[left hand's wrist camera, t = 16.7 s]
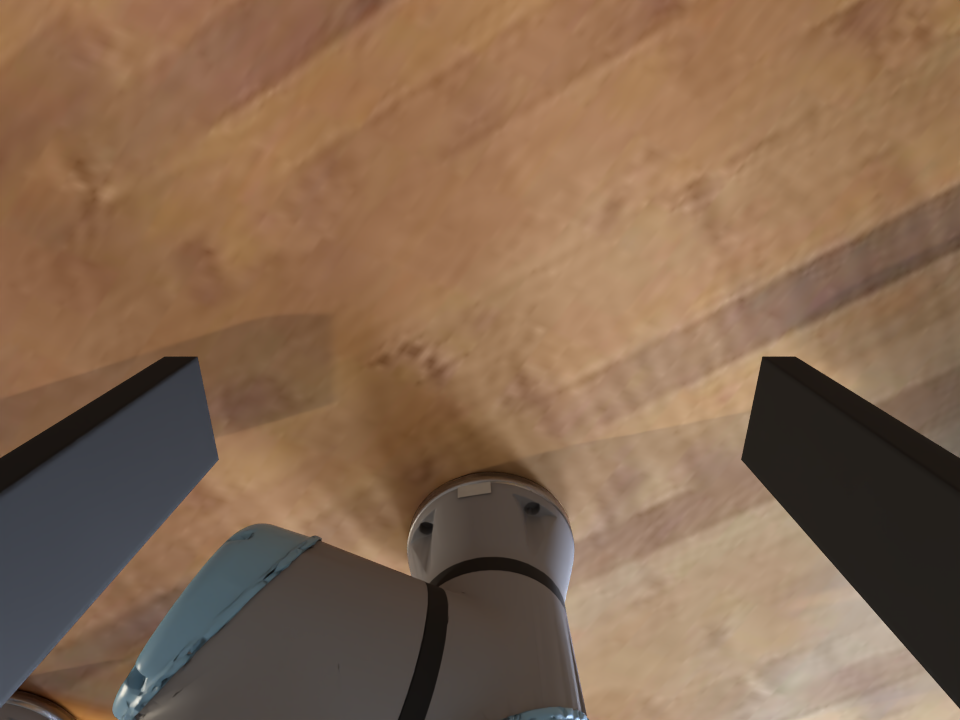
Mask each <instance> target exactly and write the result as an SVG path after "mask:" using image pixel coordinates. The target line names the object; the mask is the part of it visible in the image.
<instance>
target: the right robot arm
mask: <svg viewBox="0 0 960 720" xmlns="http://www.w3.org/2000/svg"><path fill="white" fill-rule="evenodd" d="M0 720H76V719H75V718H74V717H73V716H72V715H71V714H69V713H68V712H67V711H65V710H64V709H63V708H61V707H60V706H58V705H56V704H54V703H53V702H51V701H49V700H46V699H44V698H42V697H39V696H36V695H33V694H30V693H27V692H22V691H17V690H16V691H15V692H14V694H13V695H12V696H11V697H10V698H9V699H8V700H7V701H6V703H5V704H4V705H3V706H2V707H1V708H0Z"/></svg>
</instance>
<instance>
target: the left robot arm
mask: <svg viewBox="0 0 960 720" xmlns="http://www.w3.org/2000/svg"><path fill="white" fill-rule="evenodd" d="M218 460H219V459H218V454H217V449H216V444H215V439H214V434H213V430H212V425H211V420H210V415H209V410H208V405H207V400H206V395H205V391H204V386H203V381H202V376H201V371H200V366H199V361H198V357H163V358H162V359H160V360H158V361H157V362H155V363H154V364H152V365H150V366H149V367H147V368H145V369H144V370H142V371H141V372H139V373H137V374H136V375H134V376H132V377H131V378H129V379H128V380H126V381H124V382H123V383H121V384H120V385H118V386H116V387H115V388H113V389H111V390H110V391H108V392H107V393H105V394H103V395H102V396H100V397H99V398H97V399H95V400H94V401H92V402H90V403H89V404H87V405H86V406H84V407H82V408H81V409H79V410H78V411H76V412H74V413H73V414H71V415H69V416H68V417H66V418H65V419H63V420H61V421H60V422H58V423H57V424H55V425H53V426H52V427H50V428H48V429H47V430H45V431H44V432H42V433H40V434H39V435H37V436H36V437H34V438H32V439H31V440H29V441H27V442H26V443H24V444H23V445H21V446H19V447H18V448H16V449H15V450H13V451H11V452H10V453H8V454H6V455H5V456H3V457H2V458H0V708H1V707H2V706H3V705H4V704H5V703H6V701H7V700H8V699H9V698H10V697H11V696H12V695H13V694H14V692H15V691H16V690H17V689H18V688H19V687H20V686H21V684H22V683H23V682H24V681H25V680H26V679H27V678H28V676H29V675H30V674H31V673H32V672H33V671H34V670H35V668H36V667H37V666H38V665H39V664H40V663H41V662H42V660H43V659H44V658H45V657H46V656H47V655H48V654H49V652H50V651H51V650H52V649H53V648H54V647H55V646H56V644H57V643H58V642H59V641H60V640H61V639H62V638H63V636H64V635H65V634H66V633H67V632H68V631H69V630H70V629H71V627H72V626H73V625H74V624H75V623H76V622H77V621H78V619H79V618H80V617H81V616H82V615H83V614H84V613H85V611H86V610H87V609H88V608H89V607H90V606H91V605H92V603H93V602H94V601H95V600H96V599H97V598H98V597H99V595H100V594H101V593H102V592H103V591H104V590H105V589H106V587H107V586H108V585H109V584H110V583H111V582H112V581H113V579H114V578H115V577H116V576H117V575H118V574H119V573H120V571H121V570H122V569H123V568H124V567H125V566H126V565H127V564H128V562H129V561H130V560H131V559H132V558H133V557H134V556H135V554H136V553H137V552H138V551H139V550H140V549H141V548H142V546H143V545H144V544H145V543H146V542H147V541H148V540H149V538H150V537H151V536H152V535H153V534H154V533H155V532H156V530H157V529H158V528H159V527H160V526H161V525H162V524H163V522H164V521H165V520H166V519H167V518H168V517H169V516H170V514H171V513H172V512H173V511H174V510H175V509H176V508H177V506H178V505H179V504H180V503H181V502H182V501H183V500H184V498H185V497H186V496H187V495H188V494H189V493H190V492H191V491H192V489H193V488H194V487H195V486H196V485H197V484H198V483H199V481H200V480H201V479H202V478H203V477H204V476H205V475H206V473H207V472H208V471H209V470H210V469H211V468H212V467H213V465H214V464H215V463H216V462H217V461H218ZM741 460H742V461H743V462H744V463H745V464H746V465H747V467H748V468H749V469H750V470H751V471H752V472H753V473H754V475H755V476H756V477H757V478H758V479H759V480H760V481H761V483H762V484H763V485H764V486H765V487H766V488H767V489H768V491H769V492H770V493H771V494H772V495H773V496H774V497H775V498H776V500H777V501H778V502H779V503H780V504H781V505H782V506H783V508H784V509H785V510H786V511H787V512H788V513H789V514H790V516H791V517H792V518H793V519H794V520H795V521H796V522H797V524H798V525H799V526H800V527H801V528H802V529H803V530H804V532H805V533H806V534H807V535H808V536H809V537H810V538H811V540H812V541H813V542H814V543H815V544H816V545H817V546H818V548H819V549H820V550H821V551H822V552H823V553H824V554H825V556H826V557H827V558H828V559H829V560H830V561H831V562H832V564H833V565H834V566H835V567H836V568H837V569H838V570H839V571H840V573H841V574H842V575H843V576H844V577H845V578H846V579H847V581H848V582H849V583H850V584H851V585H852V586H853V587H854V589H855V590H856V591H857V592H858V593H859V594H860V595H861V597H862V598H863V599H864V600H865V601H866V602H867V603H868V605H869V606H870V607H871V608H872V609H873V610H874V611H875V613H876V614H877V615H878V616H879V617H880V618H881V619H882V621H883V622H884V623H885V624H886V625H887V626H888V627H889V629H890V630H891V631H892V632H893V633H894V634H895V635H896V636H897V638H898V639H899V640H900V641H901V642H902V643H903V644H904V646H905V647H906V648H907V649H908V650H909V651H910V652H911V654H912V655H913V656H914V657H915V658H916V659H917V660H918V662H919V663H920V664H921V665H922V666H923V667H924V668H925V670H926V671H927V672H928V673H929V674H930V675H931V676H932V678H933V679H934V680H935V681H936V682H937V683H938V684H939V686H940V687H941V688H942V689H943V690H944V691H945V692H946V694H947V695H948V696H949V697H950V698H951V699H952V700H953V701H954V703H955V704H956V705H957V706H958V707H959V708H960V458H958V457H957V456H955V455H954V454H952V453H950V452H949V451H947V450H945V449H944V448H942V447H941V446H939V445H937V444H936V443H934V442H933V441H931V440H929V439H928V438H926V437H924V436H923V435H921V434H920V433H918V432H916V431H915V430H913V429H912V428H910V427H908V426H907V425H905V424H903V423H902V422H900V421H899V420H897V419H895V418H894V417H892V416H891V415H889V414H887V413H886V412H884V411H882V410H881V409H879V408H878V407H876V406H874V405H873V404H871V403H870V402H868V401H866V400H865V399H863V398H861V397H860V396H858V395H857V394H855V393H853V392H852V391H850V390H849V389H847V388H845V387H844V386H842V385H840V384H839V383H837V382H836V381H834V380H832V379H831V378H829V377H828V376H826V375H824V374H823V373H821V372H819V371H818V370H816V369H815V368H813V367H811V366H810V365H808V364H806V363H805V362H803V361H802V360H800V359H798V358H797V357H762V361H761V366H760V371H759V376H758V381H757V386H756V391H755V395H754V400H753V405H752V410H751V415H750V420H749V425H748V430H747V434H746V439H745V444H744V449H743V454H742V459H741ZM321 540H322V538H320V537H318V536H312V537H308V536H305V535H302V534H299V533H295V532H292V531H289V530H286V529H283V528H280V527H277V526H274V525H270V524H254V525H251V526H248V527H246V528H244V529H242V530H240V531H239V532H237V533H236V534H234V535H233V536H232V537H231V538H229V539H228V540H227V541H226V542H225V543H224V544H223V545H222V546H221V547H220V548H219V549H218V550H217V551H216V552H215V554H214V555H213V556H212V557H211V558H210V559H209V560H208V562H207V563H206V564H205V565H204V566H203V567H202V569H201V570H200V571H199V572H198V574H197V575H196V576H195V577H194V579H193V580H192V581H191V582H190V584H189V585H188V586H187V587H186V589H185V590H184V591H183V593H182V594H181V595H180V597H179V598H178V599H177V601H176V602H175V603H174V605H173V606H172V608H171V609H170V610H169V612H168V613H167V614H166V616H165V617H164V619H163V620H162V622H161V623H160V624H159V626H158V627H157V629H156V630H155V632H154V633H153V635H152V636H151V638H150V639H149V641H148V642H147V644H146V645H145V647H144V649H143V650H142V652H141V653H140V655H139V657H138V658H137V661H136V664H135V666H134V667H133V669H132V670H131V672H130V674H129V675H128V677H127V678H126V680H125V681H124V682H123V684H122V685H121V687H120V689H119V691H118V693H117V695H116V698H115V701H114V704H113V710H112V711H113V714H114V716H115V717H116V718H117V719H119V720H589V719H588V718H587V715H586V710H585V705H584V700H583V695H582V690H581V685H580V680H579V675H578V670H577V665H576V659H575V654H574V649H573V644H572V639H571V634H570V629H569V624H568V619H567V614H566V609H565V598H566V594H567V589H568V584H569V580H570V575H571V570H572V566H573V560H574V540H573V535H572V531H571V527H570V523H569V520H568V517H567V515H566V513H565V511H564V509H563V507H562V506H561V505H560V503H559V502H558V501H557V500H556V498H555V497H554V496H553V495H551V494H550V493H549V492H548V491H547V490H545V489H544V488H543V487H541V486H539V485H538V484H536V483H534V482H532V481H530V480H528V479H525V478H522V477H519V476H516V475H511V474H506V473H497V472H485V473H476V474H470V475H466V476H462V477H459V478H456V479H454V480H452V481H449V482H447V483H445V484H444V485H442V486H440V487H439V488H437V489H436V490H435V491H433V492H432V493H431V494H430V495H429V496H428V497H427V498H426V499H425V500H424V501H423V502H422V504H421V505H420V506H419V508H418V509H417V511H416V513H415V515H414V517H413V520H412V523H411V527H410V532H409V537H408V544H407V555H408V563H409V568H410V572H411V576H409V575H406V574H404V573H401V572H398V571H396V570H393V569H391V568H388V567H386V566H383V565H381V564H378V563H375V562H373V561H370V560H368V559H365V558H363V557H360V556H357V555H355V554H352V553H350V552H347V551H345V550H342V549H339V548H337V547H334V546H332V545H329V544H327V543H324V542H321Z"/></svg>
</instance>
